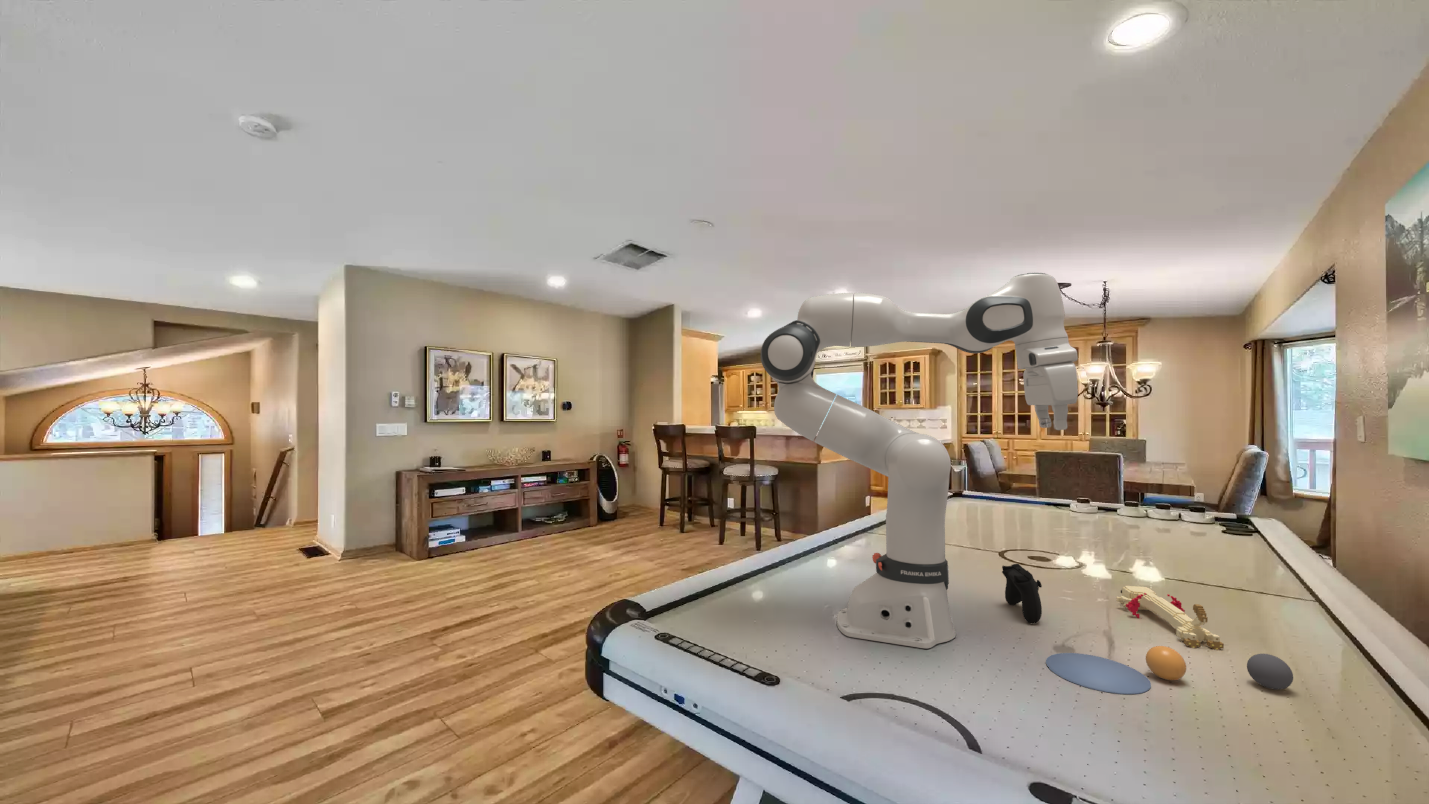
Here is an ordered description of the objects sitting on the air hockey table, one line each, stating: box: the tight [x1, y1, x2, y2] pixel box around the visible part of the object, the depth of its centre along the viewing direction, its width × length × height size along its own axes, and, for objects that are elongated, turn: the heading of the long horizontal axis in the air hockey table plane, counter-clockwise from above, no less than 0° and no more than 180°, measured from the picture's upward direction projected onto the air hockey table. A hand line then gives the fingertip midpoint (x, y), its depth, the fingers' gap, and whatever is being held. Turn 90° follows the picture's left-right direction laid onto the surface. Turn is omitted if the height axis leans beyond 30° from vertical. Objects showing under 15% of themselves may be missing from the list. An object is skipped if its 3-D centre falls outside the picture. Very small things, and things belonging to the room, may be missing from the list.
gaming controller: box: [1001, 563, 1043, 625], centre depth 115 cm, size 14×6×10 cm, turn 168°
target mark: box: [1045, 652, 1152, 695], centre depth 88 cm, size 14×14×1 cm
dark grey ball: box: [1246, 653, 1294, 691], centre depth 83 cm, size 5×5×5 cm
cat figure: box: [1115, 585, 1225, 651], centre depth 109 cm, size 10×9×25 cm
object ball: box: [1145, 645, 1187, 681], centre depth 86 cm, size 5×5×5 cm
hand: (1053, 428), depth 102 cm, fingers open, 8 cm apart
